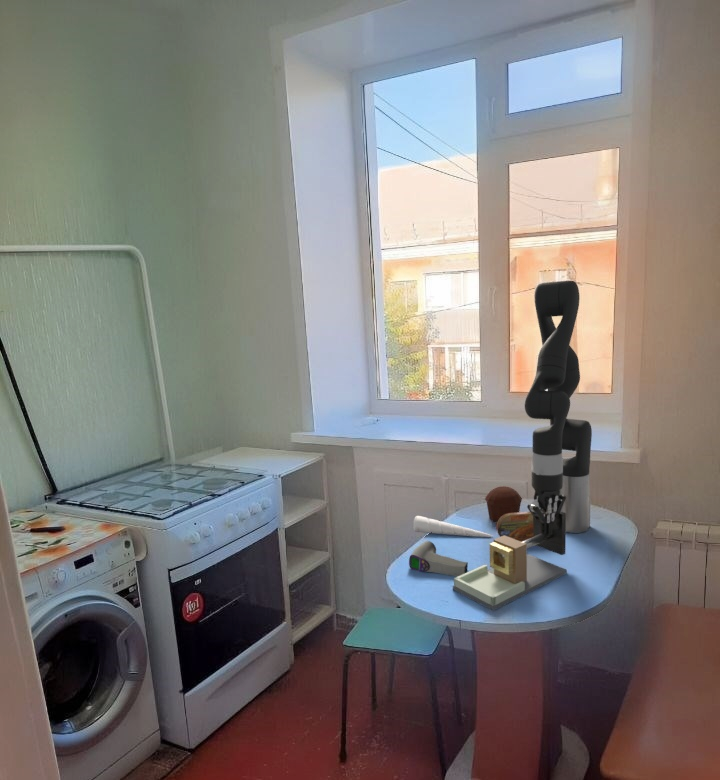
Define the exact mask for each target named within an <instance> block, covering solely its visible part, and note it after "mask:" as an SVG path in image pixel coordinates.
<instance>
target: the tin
mask: <svg viewBox="0 0 720 780" xmlns="http://www.w3.org/2000/svg"><path fill="white" fill-rule="evenodd" d="M496 533H497V534H498V536H499V537H501V536H504V535H505V536H508V537H510V538H513V539H515V540H518V541H521V542H523V541H525V540H527V539H530V538H532V537H533V515H532V514H531V512H530V511H519V513H507V514H504V515H503V516H501V517H500V518H499V520H498V522H496Z"/></svg>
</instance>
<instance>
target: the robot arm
mask: <svg viewBox="0 0 720 780" xmlns="http://www.w3.org/2000/svg"><path fill="white" fill-rule="evenodd" d="M534 307H535V312H536V317H537V322H538V327H539V331H540V337H541V343H542V345H541V348H540V350H539V353H538V357H537V364H536V373H535V376H534V380H533V383H532V385H531V387H530V388H529V390H528V393H527V396H526V397H525V401H524V411H525V413H526V415H527V417H529V418H530V419H533V420H534V419H536V420H549V423H550V424H549V425H548V426H542V427H541V426H540V427H538V428H535V429H534V430H533V432H532V455H531V487H532V489H533V490H534V495H533V502H532V503H528V504H527V505H526V506H527V510H528V512H531V514H532V515H533V517H534V518H535V520H538V521H541V533H542V535H544V536H547V537H548V536H550V535H552V531H553V521H554V518H555V517H558V516H559V514H560V511H561V512H564V513H566V533H572V534H575V533H576V534H577V533H579V534H581V533H585V532H587V531H589V528H590V527H591V495H590V465H591V450H592V449H591V446H592V437H593V435H592V433H593V432H592V431H593V430H592V425H591V423H590V422H589V421H587V420H583V419H573V418H568V415H569V411H570V408H571V397H572V396H573V394H574V392H576V390H577V388H578V386H579V384H580V381H581V373H580V364H579V363H580V362H579V360H580V359H579V357H578V355H577V353H576V352H575V350H574V348H572V346H571V345H570V343H571V339H572V338H573V337H572V336H573V333H574V330H575V329H574V328H575V323H576V322H577V321H576V320H577V317H578V313H579V312H578V311H579V307H580V290H579V286H578V284H577V282H576V281H574V280H559V281H551V282H550V281H549V282H540V283H538V284H537V285H536V286H535V288H534ZM552 317H561V320H560V322H559V324H557V327H556V325H555V322H554V320H553V318H552ZM563 450H565V451H573V452H574V451H575V456H573V457H570V458H564V459H563Z"/></svg>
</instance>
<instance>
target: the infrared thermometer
mask: <svg viewBox="0 0 720 780" xmlns="http://www.w3.org/2000/svg"><path fill="white" fill-rule="evenodd" d="M468 564H469V563H468V562H467V561H462V560H459V559H455V558H452V557H450V556H446V555H445V556H444V555H441V554H437V547H436V545H435V543H433V542H432V541H430V540H424V541H423V542H421V543H420V544H419V545H418V546H417V547H416V548H415V549H414V550H413V551H412V552H411V554H410V555H409V559H408V565H409V568H410V569H411V570H414V571H417V572H423V573H426V572H428V573H435V574H441V575H446V576H453V577H458V576H460V575H462V574H465V573H467V572H468Z"/></svg>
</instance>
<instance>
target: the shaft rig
mask: <svg viewBox="0 0 720 780" xmlns="http://www.w3.org/2000/svg"><path fill="white" fill-rule="evenodd" d="M493 542H497V543H499V544H502V545H504V546H507V547H509V548H512V549H514V573H513V574H510V575H507V574H505V573H503V572H501V571H498V570H496V569H494V568H492V567H490V569H488V565H487V564H483V565H481V566H479V567H476V568H474V569H472V570H469V571H467V572H466V573H465V574H462V575H460V576H455V577H454V578H453V585H452V590H453V591H454V592H456V593H459V594H461V595H462V596H464V597H467V598H468V599H470V600H472V601H473V602H475V603H478V604H480V605H481V606H484V607H485V608H488V609H489V610H491V611H493V612H494V611H495V610H497V609H499V608H502V607H503V606H505V605H508V604H510V603H512V602H513V601H516V600H517V599H519V598H521V597H523V596H525V595H527V594H529V593H531V592H533V591H535V590H537V589H539V588H541V587H543V586H545V585H547V584H549V583H551V582H553V581H555V580H557V579H559V578H561V577H562V576H564V575H566V574H567V569H566V568H564V567H562V566H559V565H556V564H554V563H551V562H548V561H547V560H545V559H544V560H543V559H541V558H538V557H536V556H534V555H531V554H529V553H527V549H528V548H527V544H526V543H523V542H521V541H518V540H515V539H513V538H510V537H508V536H505V535H504V536H501V537H500V536H499V537H497V538H494V539H493ZM499 562H501V563H504V564H505V559H502V558H501V557H500V555H499Z"/></svg>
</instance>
